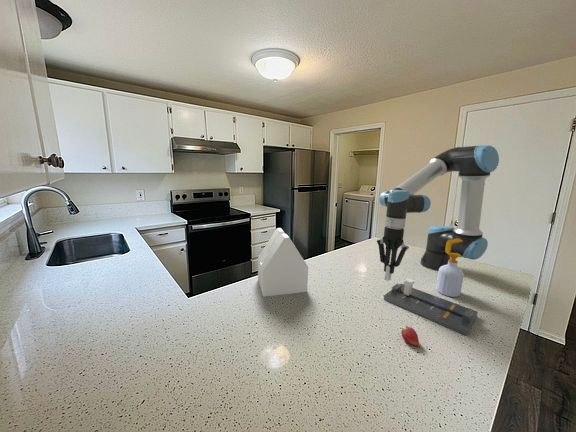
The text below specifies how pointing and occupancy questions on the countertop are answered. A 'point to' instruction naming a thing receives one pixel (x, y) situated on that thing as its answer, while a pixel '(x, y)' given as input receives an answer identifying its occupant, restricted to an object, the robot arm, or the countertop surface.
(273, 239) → the white toy house
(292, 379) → the countertop surface
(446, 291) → the soap bottle
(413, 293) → the console
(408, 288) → the fader
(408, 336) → the fruit
